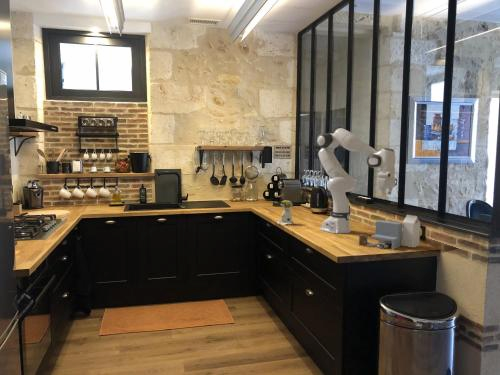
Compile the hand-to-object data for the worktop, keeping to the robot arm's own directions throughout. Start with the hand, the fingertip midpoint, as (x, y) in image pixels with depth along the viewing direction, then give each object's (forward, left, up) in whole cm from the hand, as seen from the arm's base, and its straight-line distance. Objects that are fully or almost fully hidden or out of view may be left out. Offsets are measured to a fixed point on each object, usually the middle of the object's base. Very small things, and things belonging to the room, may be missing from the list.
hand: (386, 195), depth 260 cm
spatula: (+2, -22, -29) cm, 36 cm away
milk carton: (+19, -7, -29) cm, 35 cm away
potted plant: (-80, +2, -29) cm, 85 cm away
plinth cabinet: (+7, -16, -29) cm, 34 cm away
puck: (+7, -24, -29) cm, 38 cm away
